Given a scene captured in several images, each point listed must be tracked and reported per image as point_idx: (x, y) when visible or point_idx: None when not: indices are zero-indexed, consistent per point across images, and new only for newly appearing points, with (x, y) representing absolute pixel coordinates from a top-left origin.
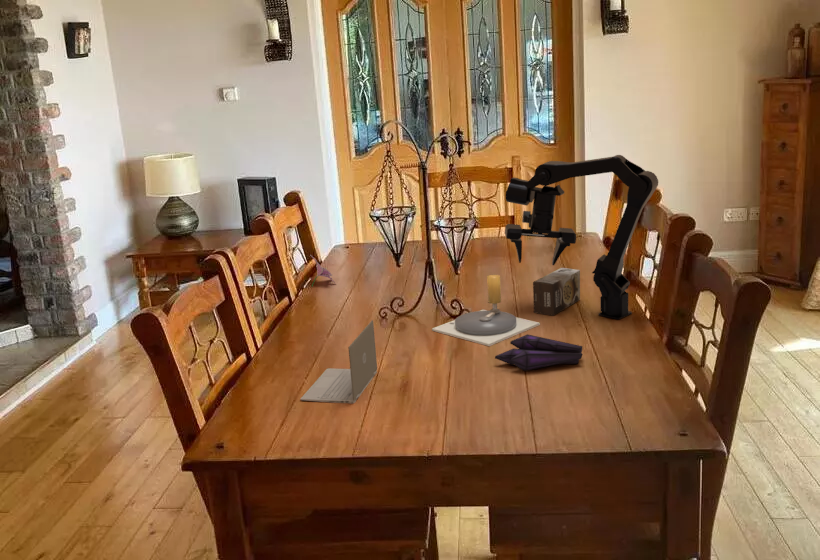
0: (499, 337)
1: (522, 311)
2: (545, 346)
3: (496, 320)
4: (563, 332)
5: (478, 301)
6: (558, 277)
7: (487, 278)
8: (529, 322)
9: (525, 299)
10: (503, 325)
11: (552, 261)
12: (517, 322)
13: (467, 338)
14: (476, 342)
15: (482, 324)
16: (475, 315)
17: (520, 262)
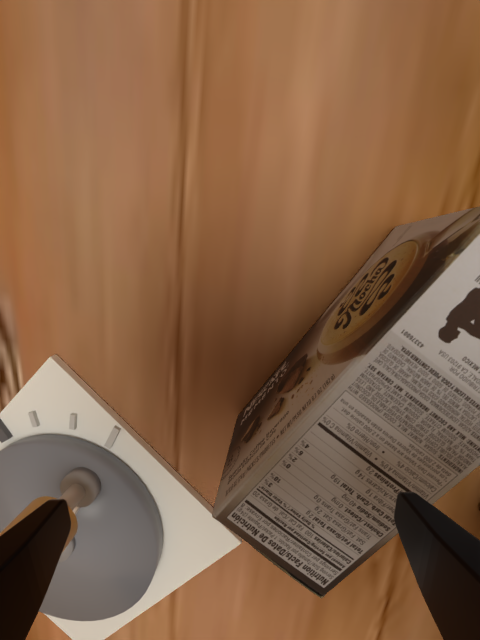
0: (112, 619)
1: (198, 385)
2: None
3: (91, 554)
4: (304, 613)
5: (29, 214)
6: (396, 479)
7: None
8: (207, 532)
9: (225, 222)
10: (114, 601)
11: (413, 518)
12: (168, 521)
13: None
14: None
15: None
16: (20, 488)
17: (66, 535)
